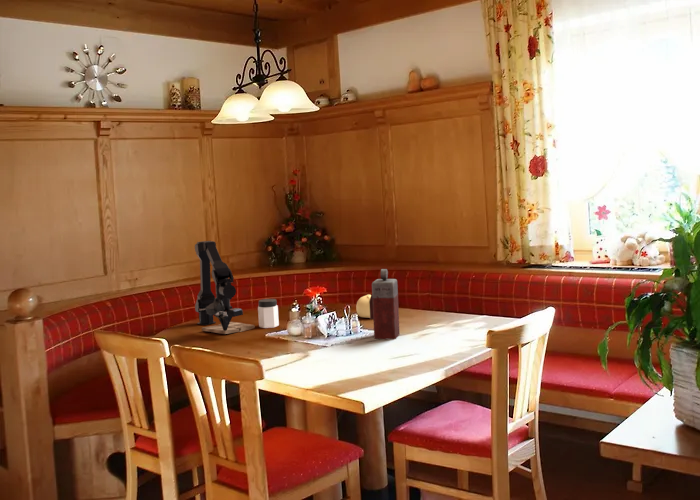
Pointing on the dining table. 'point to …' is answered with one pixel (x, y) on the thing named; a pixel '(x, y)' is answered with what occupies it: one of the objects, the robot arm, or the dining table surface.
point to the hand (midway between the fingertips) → (225, 330)
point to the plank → (220, 329)
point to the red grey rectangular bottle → (385, 307)
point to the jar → (268, 313)
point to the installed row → (240, 326)
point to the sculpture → (363, 306)
